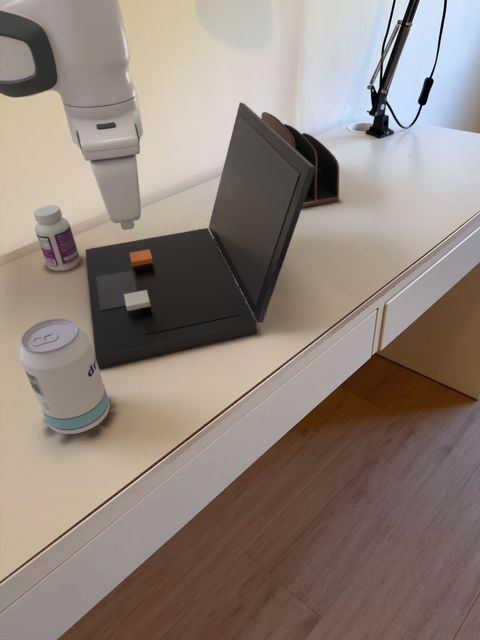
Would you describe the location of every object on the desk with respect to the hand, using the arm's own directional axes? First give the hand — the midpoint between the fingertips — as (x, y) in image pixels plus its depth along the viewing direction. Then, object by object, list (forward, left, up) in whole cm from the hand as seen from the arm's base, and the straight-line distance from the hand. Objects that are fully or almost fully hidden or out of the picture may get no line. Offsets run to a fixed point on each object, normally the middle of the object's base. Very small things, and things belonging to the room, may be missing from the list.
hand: (127, 225), depth 74 cm
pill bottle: (-11, +13, -11) cm, 21 cm away
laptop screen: (+17, -2, +1) cm, 17 cm away
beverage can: (-10, -25, -11) cm, 29 cm away
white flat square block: (-1, -8, -9) cm, 12 cm away
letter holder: (+36, +28, -11) cm, 47 cm away
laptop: (+3, -2, -11) cm, 11 cm away
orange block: (+1, +4, -9) cm, 10 cm away
